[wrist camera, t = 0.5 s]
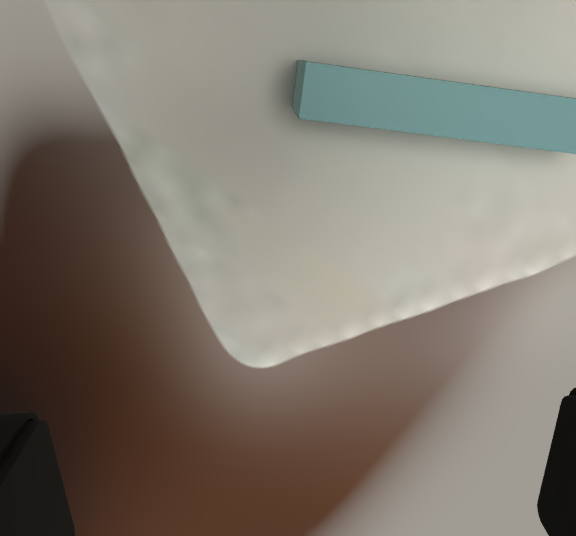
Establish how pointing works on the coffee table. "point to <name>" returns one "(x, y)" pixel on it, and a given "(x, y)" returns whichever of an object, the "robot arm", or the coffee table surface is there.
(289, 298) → the coffee table surface
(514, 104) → the teal plank
